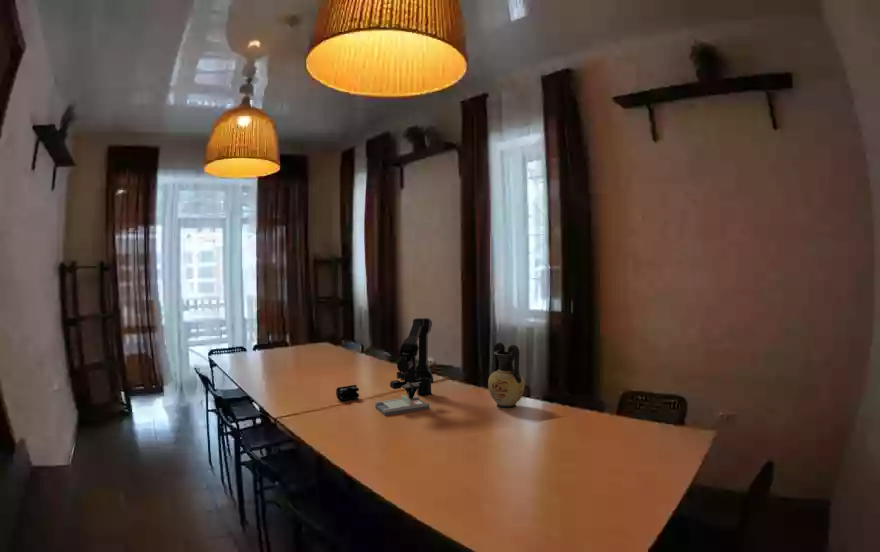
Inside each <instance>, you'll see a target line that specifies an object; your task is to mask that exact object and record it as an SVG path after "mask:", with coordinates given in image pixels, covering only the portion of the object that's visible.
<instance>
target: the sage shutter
mask: <svg viewBox="0 0 880 552" xmlns="http://www.w3.org/2000/svg"><path fill="white" fill-rule="evenodd" d="M400 396H401V398H400V399H401V400H396V401H388V402H383V405H385V406H386V407H387V408H395V407H402V406H409V405H413V400H411V399H410V398H409V397H408V395H405V394H402V395H400Z"/></svg>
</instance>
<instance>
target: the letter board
mask: <svg viewBox="0 0 880 552" xmlns="http://www.w3.org/2000/svg"><path fill="white" fill-rule="evenodd" d="M396 400H401V398H396V399H388V400H382V401H375V403H374V407H375V409H376V410H377V411H378V412H380V413H381V414H382V415H383V416H391V415H397V414H398V415H399V414H405V413H411V412H418V411H425V410H430V402H424V401H423V400H421V399H420V395H417V396H414V397H413V399H412V400H413V405H409V406H402V407H395V408H387V407H386V406H385V405H383V402H388V401H396Z"/></svg>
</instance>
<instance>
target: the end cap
mask: <svg viewBox="0 0 880 552" xmlns="http://www.w3.org/2000/svg"><path fill="white" fill-rule="evenodd" d="M359 391H360V389H359V387H357V384H351V385H344V386H339V387H336V390H335V395H336V398H337V400H338V401H339V402H341V403H348V402H353V401H358V400H359V397H360V393H359Z"/></svg>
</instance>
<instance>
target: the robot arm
mask: <svg viewBox="0 0 880 552" xmlns="http://www.w3.org/2000/svg"><path fill="white" fill-rule="evenodd" d="M432 326H433V321H432V320H431V319H430V318H427V317H426V318H425V317H422V318H421V317H420V318H413V319H412V325H411V327H410V330H409V334H408V336H407V337H406V338H405V339H403V341H402V344H401V345H400V349H399V355H398V358H400V360H399V361H398V362H397V364H396V367H397V370H398V371H397V372H396V379H397V380H396V379H395V380H390V382H389V387H390V388H391V389H393V390H399V389H401V388H403V389H404V390H405V392H406V395H407V397H408V398H410V399H411V400H412V399H413V397H415V394H417V396H419V397H425V396H432V395H433V393H432V384H434V376H433V374H432V369H431V367H430V365H429V363H428V361H429V360H428V356H429V355H428V351H429V350H428V348H429V347H428V346H429V344H428V340H429V337H428V336H429V334H430V332H431V331H432ZM417 357H418V364H417Z"/></svg>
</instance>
